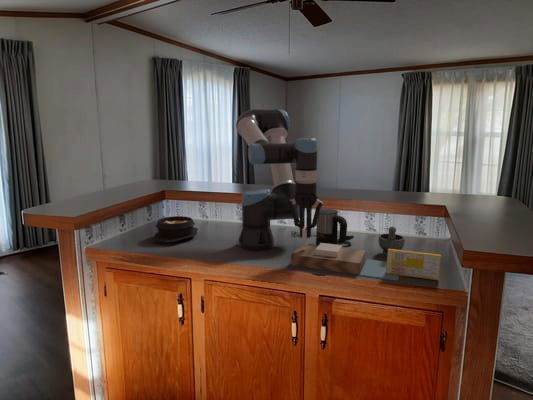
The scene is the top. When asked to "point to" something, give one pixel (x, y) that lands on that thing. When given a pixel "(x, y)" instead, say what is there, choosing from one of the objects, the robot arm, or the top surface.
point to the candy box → (413, 264)
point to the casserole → (174, 229)
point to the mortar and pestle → (391, 241)
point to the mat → (377, 270)
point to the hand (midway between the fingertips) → (305, 245)
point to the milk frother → (331, 228)
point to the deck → (329, 259)
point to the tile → (328, 250)
